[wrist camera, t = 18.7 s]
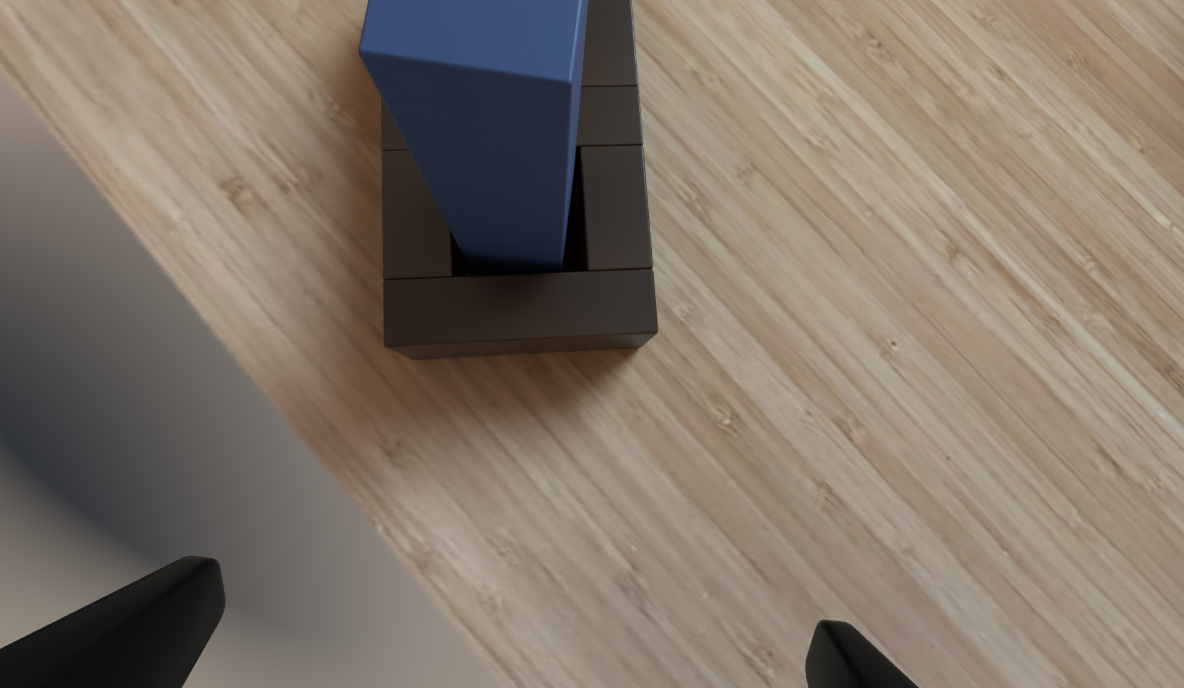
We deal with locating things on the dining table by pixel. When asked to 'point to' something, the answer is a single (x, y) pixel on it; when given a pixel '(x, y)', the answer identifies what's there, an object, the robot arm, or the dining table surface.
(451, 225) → the peg
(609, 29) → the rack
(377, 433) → the dining table surface
